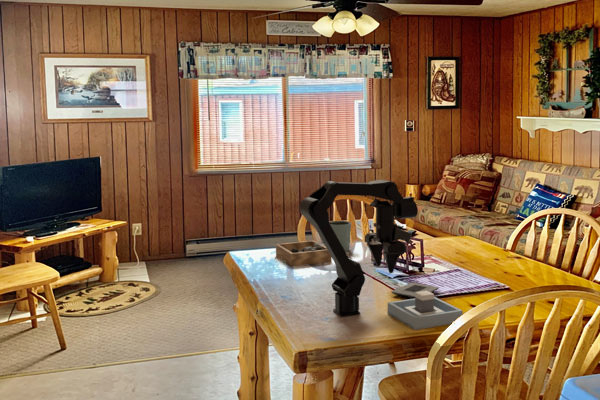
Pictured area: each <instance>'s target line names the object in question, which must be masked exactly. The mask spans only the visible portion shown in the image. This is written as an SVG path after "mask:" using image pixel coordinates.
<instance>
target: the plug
mask: <svg viewBox="0 0 600 400" xmlns="http://www.w3.org/2000/svg"><path fill="white" fill-rule="evenodd" d="M434 297H435V293H434V292H432V293H431V292H429V291H420V292H415V298H414V299H415V310H416V311H418V312H419V313H426V312H433V311H434Z"/></svg>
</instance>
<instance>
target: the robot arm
mask: <svg viewBox="0 0 600 400" xmlns="http://www.w3.org/2000/svg"><path fill="white" fill-rule="evenodd" d="M398 188H399V187H398V186H397V184H396V182H395V181H391V180H386V179H376V180H371V181H368V182H351V181H350V182H347V181H344V182H343V181H332V180H329V181H326V182H325V183H323V184H322V186H321V187H319V188H318V189H316V190H315V191H313V192H312V193H311V194H310V195H308V197H305V198H303V199H302V200H301V202H300V204H299V207H298V208H299V212H300V213H301V215H302V216H303V217H304V218H305V219H306V221H307V222H308V223H309V224H311V226H312V227H314V229H315V230H316V232H317V234H318V236H319V237H320V239H321V240H322V242H323V243H322V244H323V245H324V246H325V247H326V248H327V250H328V252H329V253H330V255H331V258H332V261H333V262H334V264H335V270H336V275H337V277H336V279H335V280H334V281H333V282H332V284H331V288H332V291H334V292H335V293H334V302H335V303H334V304H335V305H334V308H333V309H332V310H333V312H334V313H336V314H337V315H339V316H340V317H347V316H353V315H360V314H361V311H360V297H359V296H360V295H361V292H362V288H363V286H364V284H365V282H366V277H365V275H366V272H364V270H363V268H362V266H361V263H360V262H358V261H355V260H354V259H351V258H349V256H348V254H347V252H345V250H344V248H343V247H342V245H341V243H340V241H339V239H338V238H337V236H336V234H335V232H334V230H333V228H332V227H331V225H330V223H329V222H330V215H329V210H328V209H330V208H331V206H332V205H333V203H334V201H335V200H336V198H337V197H338V196H369V197H373V198H374V199H373V201H372V202H371V203H369V207H373V208H375V222H373V227H374V228H375V232H367V233H366V234H365V235H364V242H365V243H366V247H368V249H369V251H370V254H371V256H372V258H373V261H374V263H375V265H376V267H381V265H382V258H383V257H384V260H385V263H386V268H387V271H388V273H389V274H393V273H394V271H395V268H396V265H397V262H398V259H399V257H401V256H402V255H404V254H405V253H407V251H408V250H407V245H406V244H405V243H407V244H409V243H410V242H411V238H412V235H413V233H412V232H409V231H406V230H404V227H403V226H401V225H398V224H397V223H395V219H397V220H405V219H414V218H416V217H417V216H418V213H419V208H418V205H417V203H416V201H415V197H414V196H406V197H405V196H404V197H403V196H402V194H401V192H400V191H399V189H398ZM380 199H382V200H380ZM390 201H391V202H390ZM402 241H403V242H402ZM404 242H405V243H404Z"/></svg>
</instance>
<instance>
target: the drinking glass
mask: <svg viewBox="0 0 600 400" xmlns="http://www.w3.org/2000/svg"><path fill="white" fill-rule="evenodd" d="M329 223H330V225H331V227H332V228H333V230H334V232H335V234H336V236H337V238H338V239H339V241H340V243H341V245H342V247H343V248H344V250H345V252H346V253H347V252H349V251H350V249H351V248H350V246H351V245H350V243H351V230H352V222H351V221H347V220H331V221H329Z"/></svg>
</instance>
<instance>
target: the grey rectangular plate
mask: <svg viewBox="0 0 600 400" xmlns="http://www.w3.org/2000/svg"><path fill="white" fill-rule="evenodd" d="M439 289H440V287H439V286H434V285H427V284H423V283H419V282H418V283H417V282H410V283H407V284H405V285H403V286H401V287H398V288H396V289H394V290H391V293H392V295H395V296H396V295H397V296H401V297H405V298H406V297H407V298H410V299H415V292H420V291H429V292H431V293H434V292H436V291H437V290H439Z"/></svg>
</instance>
